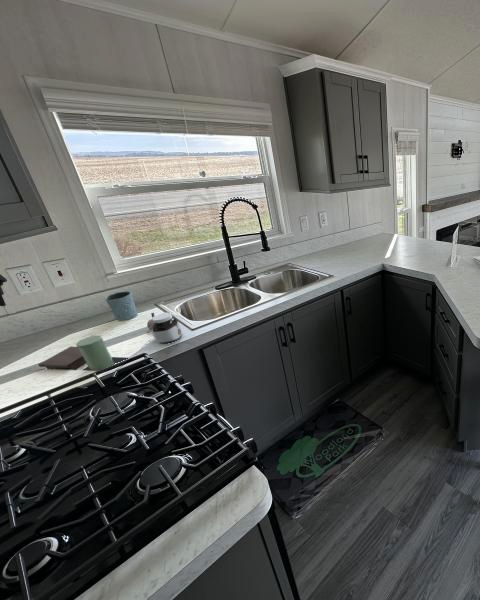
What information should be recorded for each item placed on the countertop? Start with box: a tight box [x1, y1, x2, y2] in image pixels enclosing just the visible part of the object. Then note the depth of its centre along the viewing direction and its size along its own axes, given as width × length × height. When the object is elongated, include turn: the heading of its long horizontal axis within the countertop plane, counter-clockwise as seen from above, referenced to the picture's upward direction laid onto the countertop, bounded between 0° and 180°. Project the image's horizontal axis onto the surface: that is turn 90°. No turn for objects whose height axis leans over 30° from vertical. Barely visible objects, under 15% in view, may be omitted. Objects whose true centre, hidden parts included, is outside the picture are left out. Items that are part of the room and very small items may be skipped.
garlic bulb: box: [146, 312, 155, 331], centre depth 150 cm, size 8×7×8 cm
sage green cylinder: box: [75, 335, 114, 372], centre depth 122 cm, size 7×7×12 cm
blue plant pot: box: [104, 290, 139, 322], centre depth 161 cm, size 10×10×12 cm
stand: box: [37, 346, 87, 371], centre depth 127 cm, size 12×12×4 cm
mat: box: [82, 356, 129, 372], centre depth 124 cm, size 13×13×1 cm
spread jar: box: [150, 312, 182, 345], centre depth 140 cm, size 12×11×12 cm
